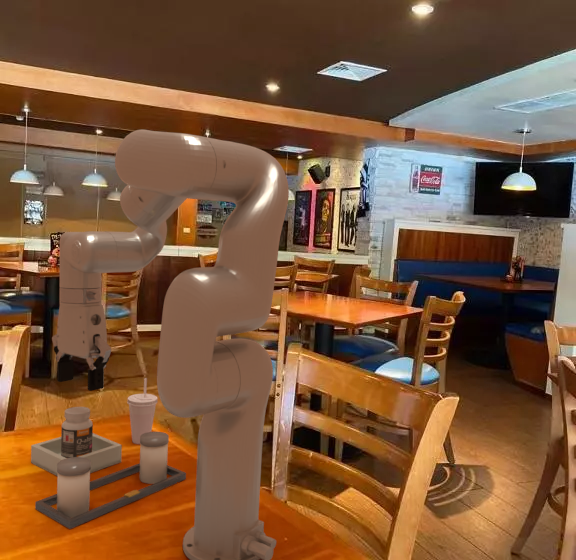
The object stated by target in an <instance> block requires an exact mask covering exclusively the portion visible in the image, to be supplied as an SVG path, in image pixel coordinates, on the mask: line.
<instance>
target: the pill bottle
mask: <svg viewBox="0 0 576 560" xmlns="http://www.w3.org/2000/svg"><path fill="white" fill-rule="evenodd" d="M90 416H91V409H90V408H89V407H86V406H72V407H68V408H67V409H65V410H64V418H65V420H64V421H63V422H62V424H61V430H60V431H61V433H60V435H61V436H60V437H61V456H63V457H65V458H71V457H79V456H82V455H85V454H88V453H91V452H92V436H93V433H94V431H93V430H94V429H93V427H94V425H93V421H92V419H90Z"/></svg>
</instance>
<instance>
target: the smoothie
mask: <svg viewBox="0 0 576 560" xmlns="http://www.w3.org/2000/svg"><path fill="white" fill-rule="evenodd" d="M143 381H144V382H143V393H135V394H132V395H129V396H128V397H127V400H126V402H127V404H128V411H129V420H130V429H131V440H132V443H133V444H135V445H140V436H141V435H142V434H144V433H147V432H153V431H152V430H153V429H152V428H153V425H154V417H155V411H156V405H157V404H158V396H156V395H155V394H151V393H147V386H148V385H147V383H148V378H147V377H145V378H144V379H143Z"/></svg>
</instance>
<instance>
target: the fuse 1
mask: <svg viewBox="0 0 576 560" xmlns="http://www.w3.org/2000/svg"><path fill="white" fill-rule="evenodd" d="M90 469H91V461H90V460H89V459H87V458H83V457H71V458H66V459H63V460H61V461H59V462H58V463H57V472H58V476H57V480H56V481H57V482H56V483H57V486H56V487H57V488H56V492H57V493H56V494H57V503H56V510H58V511H60V512H62V513H63V514H65V515H67V516H69V517H70V518H73V517H75V516H78V515H80V514H83V513H85V512H87V511H90V491H91V490H90V481H91V473H90Z"/></svg>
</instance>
